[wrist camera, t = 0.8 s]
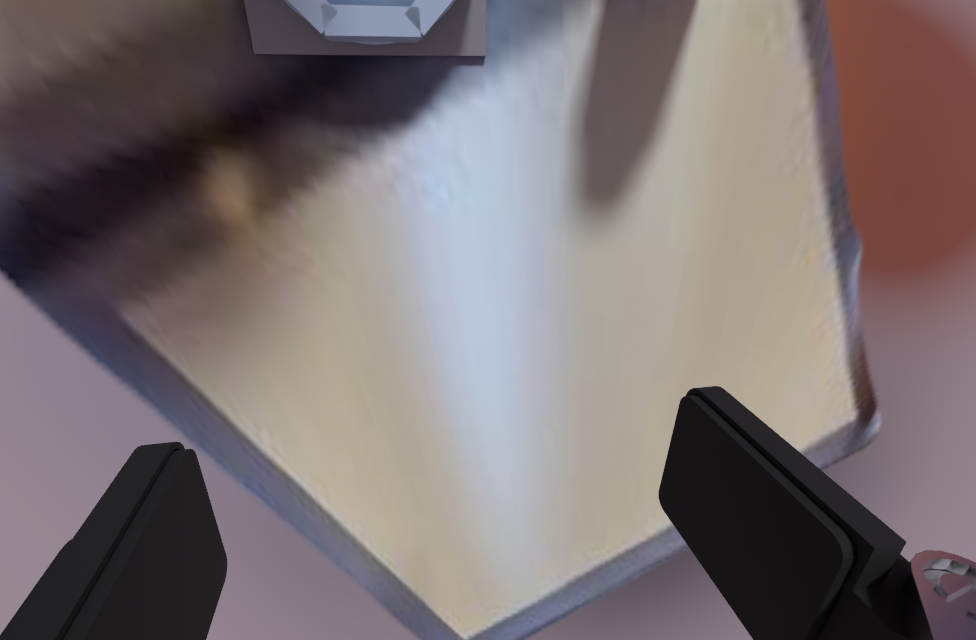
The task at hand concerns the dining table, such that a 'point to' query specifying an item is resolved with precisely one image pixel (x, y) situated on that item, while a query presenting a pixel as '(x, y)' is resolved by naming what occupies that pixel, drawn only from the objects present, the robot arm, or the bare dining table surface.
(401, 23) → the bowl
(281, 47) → the mat
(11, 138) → the dining table surface
